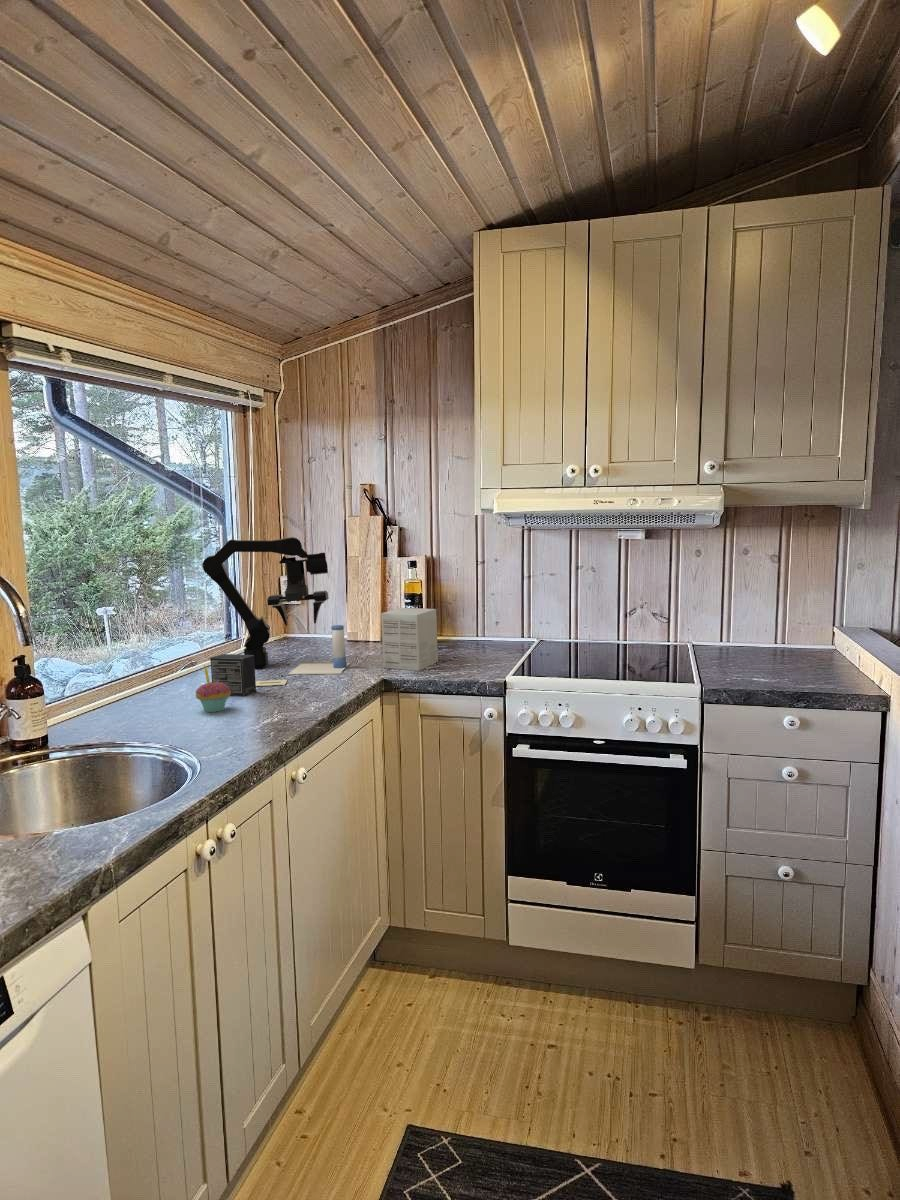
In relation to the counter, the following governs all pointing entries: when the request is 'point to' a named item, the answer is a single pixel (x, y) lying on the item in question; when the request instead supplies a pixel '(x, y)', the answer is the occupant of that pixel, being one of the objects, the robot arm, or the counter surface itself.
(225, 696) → the cupcake
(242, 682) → the small box
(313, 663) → the notepad
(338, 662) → the cylinder
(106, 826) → the counter surface
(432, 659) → the supplement box
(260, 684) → the word card
